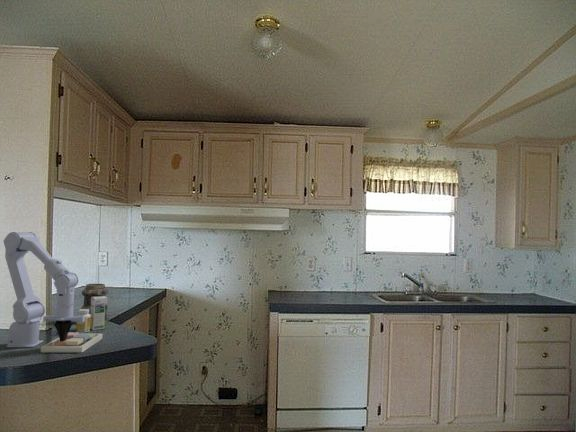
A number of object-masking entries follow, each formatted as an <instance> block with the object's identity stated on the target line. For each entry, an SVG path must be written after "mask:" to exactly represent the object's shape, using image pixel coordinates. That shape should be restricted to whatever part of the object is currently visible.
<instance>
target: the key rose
mask: <svg viewBox="0 0 576 432" xmlns="http://www.w3.org/2000/svg"><path fill="white" fill-rule="evenodd" d="M78 334H79V332H76V331H75V332H71V331H69V332H68V335H67V338H66V339H71V338H73V337H74V336H76V335H78Z"/></svg>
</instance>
